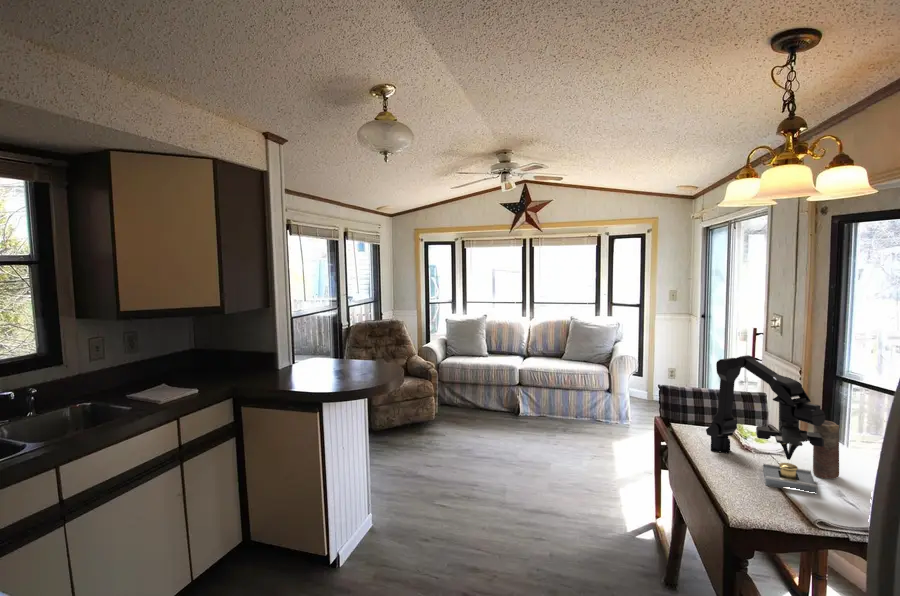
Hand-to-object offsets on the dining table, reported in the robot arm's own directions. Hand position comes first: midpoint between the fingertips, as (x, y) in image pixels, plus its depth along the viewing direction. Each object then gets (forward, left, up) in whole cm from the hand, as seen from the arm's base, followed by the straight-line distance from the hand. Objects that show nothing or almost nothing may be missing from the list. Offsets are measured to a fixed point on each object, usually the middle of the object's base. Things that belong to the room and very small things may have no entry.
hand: (788, 459), depth 159 cm
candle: (+12, +11, -9) cm, 18 cm away
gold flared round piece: (0, 0, -8) cm, 8 cm away
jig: (0, 0, -8) cm, 8 cm away
